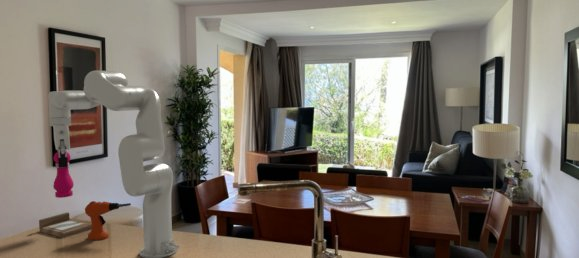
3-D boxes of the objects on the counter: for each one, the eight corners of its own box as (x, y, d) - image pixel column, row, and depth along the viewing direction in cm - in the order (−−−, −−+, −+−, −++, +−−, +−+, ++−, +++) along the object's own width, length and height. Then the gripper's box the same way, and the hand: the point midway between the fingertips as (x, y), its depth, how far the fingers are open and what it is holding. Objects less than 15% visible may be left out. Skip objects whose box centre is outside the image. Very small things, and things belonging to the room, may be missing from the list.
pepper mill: (49, 197, 161) (47, 148, 160) (62, 193, 169) (60, 146, 167) (65, 198, 160) (63, 148, 159) (78, 194, 167) (75, 146, 166)
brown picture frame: (91, 228, 167) (91, 217, 167) (64, 237, 157) (63, 225, 156) (67, 223, 175) (66, 212, 174) (39, 231, 164) (38, 220, 164)
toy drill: (132, 236, 153) (126, 198, 152) (85, 242, 155) (79, 204, 153) (138, 232, 158) (132, 195, 157) (92, 237, 159) (86, 200, 158)
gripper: (72, 122, 157) (74, 168, 158) (69, 120, 171) (71, 162, 173) (50, 123, 153) (52, 170, 154) (48, 121, 167) (51, 164, 169)
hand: (62, 165), depth 163 cm, fingers closed on pepper mill, 5 cm apart
